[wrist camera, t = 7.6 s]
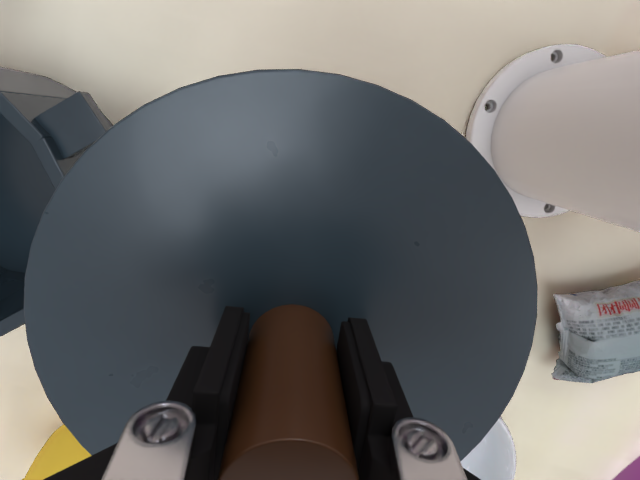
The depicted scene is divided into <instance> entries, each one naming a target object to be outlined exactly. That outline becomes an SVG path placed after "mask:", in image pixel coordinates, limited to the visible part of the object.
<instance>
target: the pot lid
mask: <svg viewBox="0 0 640 480" xmlns="http://www.w3.org/2000/svg"><path fill="white" fill-rule="evenodd" d="M226 306H232V307H243V308H244V312H247V313H250V322H249V333H248V344H247V349H246V353H245V358H244V363H243V367H242V372H241V376H240V381H239V386H238V390H237V395H236V399H235V404H234V408H233V413H232V418H231V422H230V427H229V431H228V436H227V441H226V444H225V448H224V453H223V457H222V462H221V466H220V471H219V475H218V480H359V476H358V471H357V465H356V459H355V454H354V448H353V443H352V437H351V431H350V426H349V420H348V414H347V409H346V403H345V398H344V392H343V386H342V381H341V375H340V369H339V364H338V358H337V353H336V350H337V344H338V338H339V332H340V326H341V322H342V321H345V322H347V320H348V318H349V317H351V318H362V319H366V320H367V322H368V325H369V327H370V330H371V333H372V336H373V339H374V341H375V344H376V347H377V350H378V353H379V355H380V358H381V361H384V362H391V363H392V365H393V367H394V370H395V372H396V375H397V377H398V380H399V382H400V385H401V387H402V390H403V392H404V395H405V397H406V400H407V402H408V405H409V407H410V410H411V412H412V415H413V417H417V418H421V419H425V420H427V421H430V422H432V423H434V424H436V425H437V426H438V427H440V428H441V429H443V430H444V431H445V433H446V434H447V435H448V436H449V437H450V439H451V441H452V442H453V444H454V447H455V449H456V452H457V454H458V457H459V459H460V462H461V461H462V460H463V459H464V458H465V457H466V456H467V455H468V454H469V453H470V452H471V451H472V450H473V449H474V448H475V447H476V446H477V445H478V444H479V443H480V442H481V441H482V440H483V438H484V437H485V436H486V435H487V433H488V432H489V431H490V429H491V428H492V427H493V426H494V424H495V423H496V422H497V421H498V419H499V418H500V416H501V414H502V413H503V411H504V409H505V408H506V406H507V405H508V403H509V401H510V400H511V398H512V396H513V394H514V392H515V390H516V388H517V385H518V383H519V381H520V379H521V377H522V374H523V372H524V370H525V366H526V363H527V360H528V356H529V353H530V350H531V347H532V343H533V336H534V330H535V324H536V318H537V279H536V271H535V263H534V256H533V253H532V249H531V245H530V242H529V238H528V235H527V231H526V228H525V225H524V223H523V221H522V218H521V216H520V214H519V212H518V209H517V207H516V205H515V203H514V200H513V198H512V196H511V195H510V193H509V192H508V190H507V189H506V187H505V185H504V184H503V182H502V181H501V179H500V178H499V176H498V175H497V173H496V171H495V170H494V169H493V167H492V166H491V165H490V164H489V163H488V162H487V161H486V159H485V158H484V157H483V156H482V155H481V154H480V153H479V151H478V150H477V149H476V148H475V147H474V146H473V145H472V143H470V142H469V141H468V140H467V139H466V138H465V137H463V136H462V135H461V134H460V133H459V132H458V131H456V130H455V129H454V128H453V127H452V126H450V125H449V124H448V123H447V122H446V121H445V120H443V119H442V118H440V117H438V116H437V115H435V114H434V113H432V112H430V111H429V110H427V109H426V108H424V107H422V106H421V105H419V104H418V103H416V102H414V101H413V100H411V99H408V98H406V97H404V96H401V95H399V94H397V93H395V92H392V91H390V90H388V89H386V88H383V87H381V86H379V85H376V84H372V83H369V82H365V81H362V80H358V79H354V78H351V77H347V76H344V75H340V74H333V73H325V72H318V71H310V70H302V69H267V70H253V71H246V72H240V73H234V74H227V75H221V76H216V77H213V78H210V79H207V80H203V81H200V82H197V83H194V84H190V85H187V86H184V87H181V88H178V89H176V90H174V91H172V92H170V93H168V94H166V95H163V96H161V97H159V98H157V99H155V100H153V101H151V102H149V103H147V104H144V105H143V106H141V107H140V108H138V109H137V110H135V111H134V112H132V113H131V114H129V115H128V116H126V117H125V118H123V119H122V120H121V121H119V122H118V123H116V124H115V125H113V126H112V127H110V128H109V129H108V130H107V131H106V132H105V133H104V134H103V135H102V136H101V137H100V138H99V139H97V140H96V141H95V142H94V143H93V144H92V145H91V146H90V147H89V148H88V149H87V150H85V151H84V152H83V154H82V155H81V156H80V157H79V159H78V160H77V161H76V162H75V164H74V165H73V166H72V167H71V169H70V170H69V171H68V173H67V174H66V175H65V176H64V178H63V179H62V180H61V182H60V183H59V185H58V187H57V189H56V190H55V192H54V194H53V196H52V197H51V199H50V201H49V203H48V205H47V206H46V208H45V210H44V212H43V214H42V217H41V220H40V222H39V225H38V228H37V230H36V233H35V236H34V238H33V241H32V244H31V248H30V253H29V258H28V263H27V268H26V273H25V286H24V316H25V325H26V334H27V341H28V345H29V348H30V352H31V356H32V359H33V363H34V367H35V370H36V372H37V375H38V377H39V379H40V381H41V384H42V386H43V388H44V391H45V393H46V395H47V397H48V399H49V401H50V402H51V404H52V406H53V407H54V409H55V411H56V412H57V414H58V415H59V417H60V419H61V420H62V422H63V423H64V425H65V426H66V427H67V428H68V430H69V431H70V432H71V433H72V435H73V436H74V437H75V438H76V440H77V441H78V442H79V443H80V444H81V446H82V447H83V448H84V449H85V450H87V451H88V452H89V453H90V454H91V455H94V454H96V453H98V452H100V451H102V450H104V449H106V448H108V447H110V446H112V445H114V444H116V443H118V441H119V438H120V436H121V434H122V432H123V429H124V427H125V425H126V423H127V421H128V420H129V418H130V417H131V416H132V415H133V414H134V413H135V412H136V411H138V410H139V409H140V408H142V407H144V406H146V405H148V404H151V403H155V402H158V401H166V399H167V397H168V395H169V393H170V391H171V389H172V387H173V384H174V382H175V380H176V378H177V376H178V374H179V372H180V369H181V367H182V365H183V363H184V361H185V359H186V357H187V354H188V352H189V350H190V348H191V347H192V346H202V347H210V346H211V343H212V341H213V338H214V335H215V333H216V330H217V328H218V325H219V322H220V320H221V317H222V315H223V312H224V309H225V307H226Z"/></svg>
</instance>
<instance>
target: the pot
mask: <svg viewBox="0 0 640 480" xmlns="http://www.w3.org/2000/svg"><path fill="white" fill-rule="evenodd" d="M112 126H113V125H112V124H111V122H110V121H109V120H108V119H107V118H106V117H105V116H104V115H103V114H102V112H101V111H100V109H99V108H98V106H97V105H96V103H95V102H94V100H93V99H92V97H91V96H90V94H89V93H86V92H80V91H79V92H75V91H74V90H72V89H70V88H68V87H66V86H64V85H62V84H61V83H59V82H56V81H54V80H52V79H50V78H48V77H44V76H40V75H36V74H31V73H27V72H22V71H18V70H14V69H9V68H5V67H0V336H3V335H5V334H7V333H8V332H10V331H12V330H14V329H16V328H18V327H20V326H21V325H23V324H25V316H24V286H25V273H26V268H27V263H28V258H29V253H30V248H31V244H32V241H33V238H34V236H35V233H36V230H37V228H38V225H39V222H40V220H41V217H42V214H43V212H44V210H45V208H46V206H47V205H48V203H49V201H50V199H51V197H52V196H53V194H54V192H55V190H56V189H57V187H58V185H59V183H60V182H61V180H62V179H63V178H64V176H65V175H66V174H67V173H68V171H69V170H70V169H71V167H72V166H73V165H74V164H75V162H76V161H77V160H78V159H79V157H80V156H81V155H82V154H83V152H84V151H85V150H87V149H88V148H89V147H90V146H91V145H92V144H93V143H94V142H95V141H96V140H97V139H99V138H100V137H101V136H102V135H103V134H104V133H105V132H106V131H107V130H108V129H109V128H110V127H112Z"/></svg>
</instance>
